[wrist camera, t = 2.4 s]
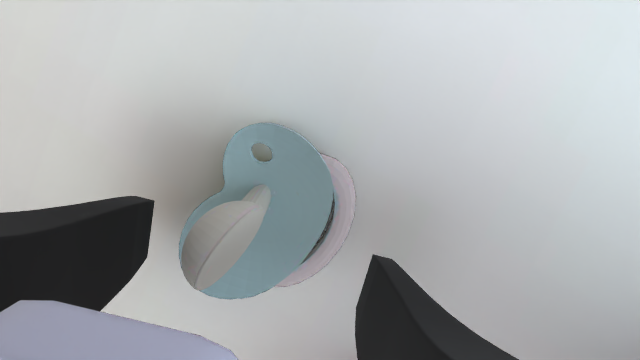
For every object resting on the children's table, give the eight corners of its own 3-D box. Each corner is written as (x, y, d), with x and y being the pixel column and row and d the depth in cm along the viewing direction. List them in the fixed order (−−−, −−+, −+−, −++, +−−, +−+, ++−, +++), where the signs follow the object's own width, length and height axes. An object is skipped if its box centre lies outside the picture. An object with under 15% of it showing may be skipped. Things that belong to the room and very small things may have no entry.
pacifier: (385, 173, 16) (257, 97, 15) (419, 239, 10) (210, 119, 9) (297, 303, 18) (180, 242, 17) (281, 426, 12) (98, 339, 11)
